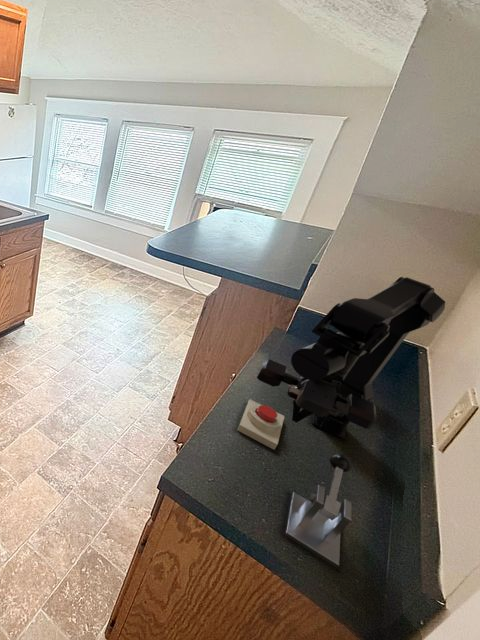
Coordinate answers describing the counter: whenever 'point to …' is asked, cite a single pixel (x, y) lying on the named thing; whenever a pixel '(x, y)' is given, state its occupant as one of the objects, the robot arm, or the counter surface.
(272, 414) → the stop button
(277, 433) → the stop block
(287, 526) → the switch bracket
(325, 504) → the switch lever
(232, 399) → the counter surface
